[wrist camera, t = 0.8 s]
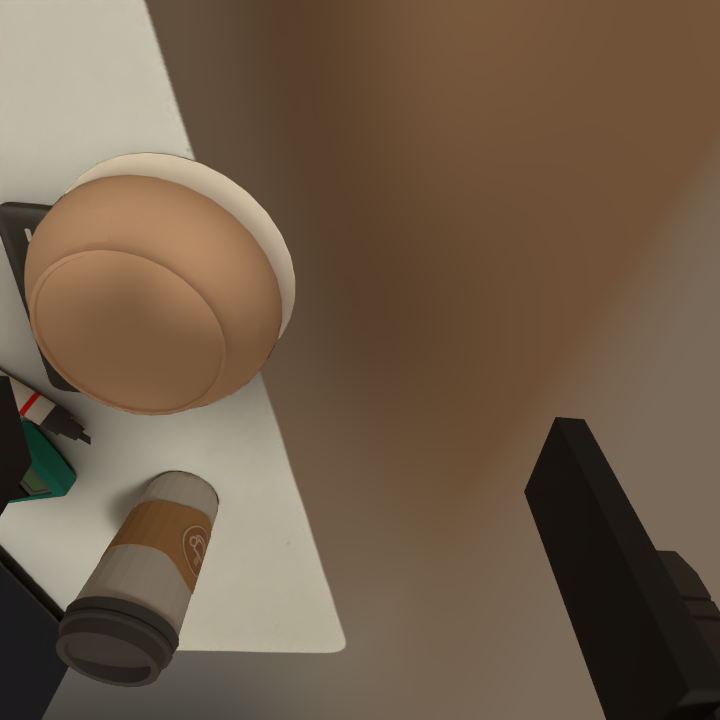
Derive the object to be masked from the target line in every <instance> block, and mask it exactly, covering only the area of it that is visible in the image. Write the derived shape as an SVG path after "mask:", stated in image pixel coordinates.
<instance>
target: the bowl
mask: <svg viewBox="0 0 720 720" xmlns="http://www.w3.org/2000/svg"><path fill="white" fill-rule="evenodd" d="M24 283H25V296H26V302H27V305H28V309H29V312H30V324H31V327H32V330H33V333H34V337H35V340H36V342H37V344H38V345H39V347H40V349H41V351H42V353H43V355H44V356H45V357H46V359H47V360H48V361H49V363H50V364H51V365H52V367H53V368H54V369H55V370H56V371H57V372H58V373H59V374H60V375H61V376H62V377H63V378H64V379H65V380H66V381H67V382H68V383H69V384H71V385H72V386H74V387H75V388H76V389H78V390H79V391H80V392H82V393H83V394H85V395H87V396H88V397H90V398H92V399H94V400H96V401H98V402H99V403H102V404H104V405H107V406H109V407H112V408H115V409H117V410H121V411H125V412H129V413H133V414H142V415H169V414H173V413H178V412H182V411H185V410H187V409H192V408H197V407H201V406H205V405H208V404H210V403H213V402H215V401H217V400H220V399H222V398H224V397H226V396H228V395H230V394H232V393H234V392H236V391H237V390H238V389H240V388H241V387H242V386H244V385H245V384H247V383H248V382H249V381H250V380H251V379H252V378H253V377H254V375H255V374H256V373H257V372H258V371H259V370H260V368H261V367H262V366H263V364H264V363H265V361H266V360H267V359H268V358H269V356H270V353H271V352H272V350H273V348H274V346H275V344H276V342H277V341H278V340H279V338H280V337H281V336H282V334H283V332H284V330H285V328H286V326H287V324H288V322H289V321H290V318H291V314H292V310H293V306H294V301H295V275H294V270H293V266H292V260H291V256H290V254H289V251H288V249H287V247H286V244H285V242H284V239H283V237H282V235H281V233H280V231H279V230H278V228H277V227H276V225H275V224H274V222H273V221H272V219H271V218H270V216H269V215H268V214H267V212H266V211H265V210H264V209H263V208H262V207H261V206H260V205H259V204H258V203H257V202H256V200H255V199H254V198H253V197H252V196H251V195H250V194H249V193H248V192H246V191H245V190H244V189H242V188H241V187H240V186H238V185H237V184H236V183H234V182H233V181H232V180H230V179H229V178H228V177H226V176H224V175H223V174H221V173H218V172H217V171H215V170H213V169H211V168H209V167H207V166H205V165H203V164H201V163H198V162H194V161H191V160H188V159H184V158H181V157H177V156H174V155H165V154H155V153H139V154H130V155H121V156H118V157H115V158H112V159H110V160H107V161H104V162H101V163H98V164H97V165H95V166H94V167H92V168H91V169H89V170H88V171H86V172H85V173H83V174H82V175H80V176H79V177H78V178H77V179H76V181H75V182H74V183H73V184H72V185H71V186H70V187H69V189H68V190H67V191H66V192H65V194H64V196H62V197H61V198H60V199H59V200H58V201H57V202H56V203H55V204H54V206H53V207H52V208H51V209H50V210H49V211H48V212H47V214H46V215H45V217H44V219H43V220H42V221H41V222H40V224H39V225H38V226H37V228H36V230H35V232H34V234H33V237H32V239H31V241H30V243H29V245H28V251H27V257H26V262H25V274H24Z"/></svg>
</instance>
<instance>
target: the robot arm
mask: <svg viewBox="0 0 720 720" xmlns="http://www.w3.org/2000/svg"><path fill="white" fill-rule="evenodd" d="M31 464H32V458H31V455H30V451H29V447H28V444H27V440H26V436H25V433H24V429H23V426H22V422H21V418H20V415H19V411H18V407H17V404H16V400H15V396H14V393H13V389H12V385H11V382H10V378H9V376H0V516H1V514H2V513H3V511H4V509H5V507H6V506H7V504H8V502H9V501H10V499H11V497H12V496H13V494H14V492H15V491H16V489H17V487H18V486H19V484H20V482H21V481H22V479H23V477H24V476H25V474H26V472H27V471H28V469H29V467H30V466H31ZM524 493H525V495H526V498H527V501H528V504H529V507H530V509H531V512H532V515H533V517H534V520H535V523H536V526H537V529H538V531H539V534H540V537H541V540H542V543H543V545H544V548H545V551H546V554H547V556H548V559H549V562H550V564H551V567H552V570H553V573H554V576H555V579H556V581H557V584H558V587H559V590H560V592H561V595H562V598H563V601H564V604H565V606H566V609H567V612H568V615H569V617H570V620H571V623H572V626H573V629H574V631H575V634H576V637H577V640H578V643H579V645H580V648H581V651H582V654H583V656H584V659H585V662H586V665H587V667H588V670H589V673H590V676H591V679H592V681H593V684H594V687H595V690H596V692H597V695H598V698H599V701H600V703H601V706H602V709H603V712H604V715H605V717H606V720H720V611H719V609H718V608H717V606H716V604H715V603H714V602H713V601H711V599H710V598H711V596H710V594H709V593H708V591H707V589H706V587H705V586H704V584H703V582H702V581H701V579H700V577H699V576H698V574H697V573H696V572H695V571H694V570H693V569H692V567H690V566H689V564H688V563H686V562H685V560H684V559H683V558H682V557H681V556H679V554H678V553H676V552H675V551H658V550H656V549H655V547H654V545H653V544H652V542H651V540H650V538H649V536H648V535H647V533H646V531H645V530H644V527H643V525H642V524H641V522H640V520H639V518H638V517H637V514H636V513H635V511H634V509H633V507H632V506H631V504H630V502H629V500H628V499H627V496H626V494H625V493H624V491H623V489H622V487H621V486H620V484H619V482H618V480H617V478H616V476H615V474H614V473H613V471H612V469H611V467H610V465H609V464H608V462H607V460H606V458H605V456H604V454H603V452H602V451H601V449H600V447H599V445H598V443H597V442H596V440H595V438H594V436H593V434H592V432H591V431H590V429H589V427H588V425H587V424H586V422H585V420H584V419H572V418H561V417H556V418H555V420H554V422H553V424H552V427H551V429H550V432H549V434H548V436H547V439H546V441H545V443H544V446H543V448H542V451H541V453H540V456H539V458H538V460H537V462H536V465H535V467H534V470H533V472H532V474H531V477H530V479H529V481H528V484H527V486H526V489H525V491H524Z"/></svg>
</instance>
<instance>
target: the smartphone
mask: <svg viewBox="0 0 720 720" xmlns="http://www.w3.org/2000/svg"><path fill="white" fill-rule="evenodd" d="M52 207H53V206H45V205H35V204H24V203H14V202H6V203H3V204H1V205H0V236H1V239H2V242H3V245H4V248H5V251H6V254H7V257H8V260H9V262H10V265H11V268H12V271H13V274H14V277H15V280H16V283H17V286H18V289H19V292H20V295H21V298H22V301H23V304H24V307H25V310H26V313H27V316H28V319H29V322H30V312H29V309H28V305H27V302H26V296H25V283H24V274H25V262H26V257H27V251H28V245H29V243H30V241H31V239H32V237H33V234H34V232H35V230H36V228H37V226H38V225H39V224H40V222H41V221H42V220H43V219H44V217H45V215H46V214H47V212H48V211H49V210H50V209H51V208H52ZM30 325H31V324H30ZM31 328H32V327H31ZM32 331H33V330H32ZM33 334H34V333H33ZM36 343H37V342H36ZM37 346H38V349H39V351H40V354H41V357H42V360H43V363H44V366H45V369H46V372H47V375H48V378H49V381H50V383H51V384H52V385H53V386H54V387H55V388H57V389H60V390H64V391H72V392H80V391H79V390H78V389H76V388H75V387H74V386H72V385H71V384H69V383H68V382H67V381H66V380H65V379H64V378H63V377H62V376H61V375H60V374H59V373H58V372H57V371H56V370H55V369H54V368H53V367H52V365H51V364H50V363H49V361H48V360H47V359H46V357H45V356H44V355H43V353H42V351H41V349H40V347H39V345H38V344H37ZM80 393H82V392H80Z"/></svg>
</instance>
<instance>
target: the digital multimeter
mask: <svg viewBox="0 0 720 720" xmlns="http://www.w3.org/2000/svg"><path fill="white" fill-rule="evenodd" d="M22 426H23V429H24V433H25V436H26V440H27V444H28V447H29V451H30V455H31V458H32V464H31V466H30V467H29V469H28V471H27V472H26V474H25V476H24V477H23V479H22V481H21V482H20V484H19V486H18V487H17V489H16V491H15V492H14V494H13V496H12V497H11V499H10V501H9V502H8V503H13V502H20V501H27V500H35V499H43V498H52V497H60V496H65V495H66V494H67V492H68V491H69V490H70V488H71V487H72V485H73V484H74V482H75V481H76V478H75V476H74V475H73V473H72V471H71V470H70V469H69V467H68V466H67V465H66V463H65V462H64V460H63V459H62V458H61V456H60V455H59V454H58V453H57V452H56V450H55V449H54V448H53V447H52V445H51V444H50V443H49V442H48V441H47V440H46V439H45V437H44V436H43V435H42V434H41V433H40V432H39V431H38V430H37V429H36V428H35V427H34V426H33V424H32V423H29V422H22Z"/></svg>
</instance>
